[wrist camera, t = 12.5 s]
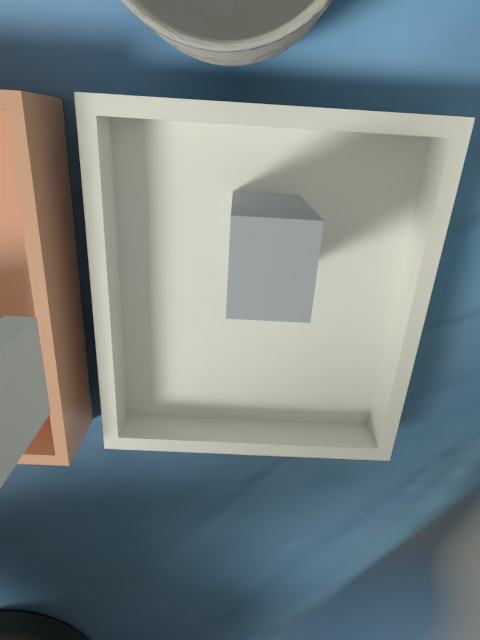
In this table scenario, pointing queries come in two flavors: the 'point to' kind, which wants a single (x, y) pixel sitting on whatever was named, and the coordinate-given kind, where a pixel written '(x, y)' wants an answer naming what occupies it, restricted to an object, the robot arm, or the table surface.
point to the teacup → (229, 26)
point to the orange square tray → (44, 264)
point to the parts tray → (212, 271)
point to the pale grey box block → (272, 257)
